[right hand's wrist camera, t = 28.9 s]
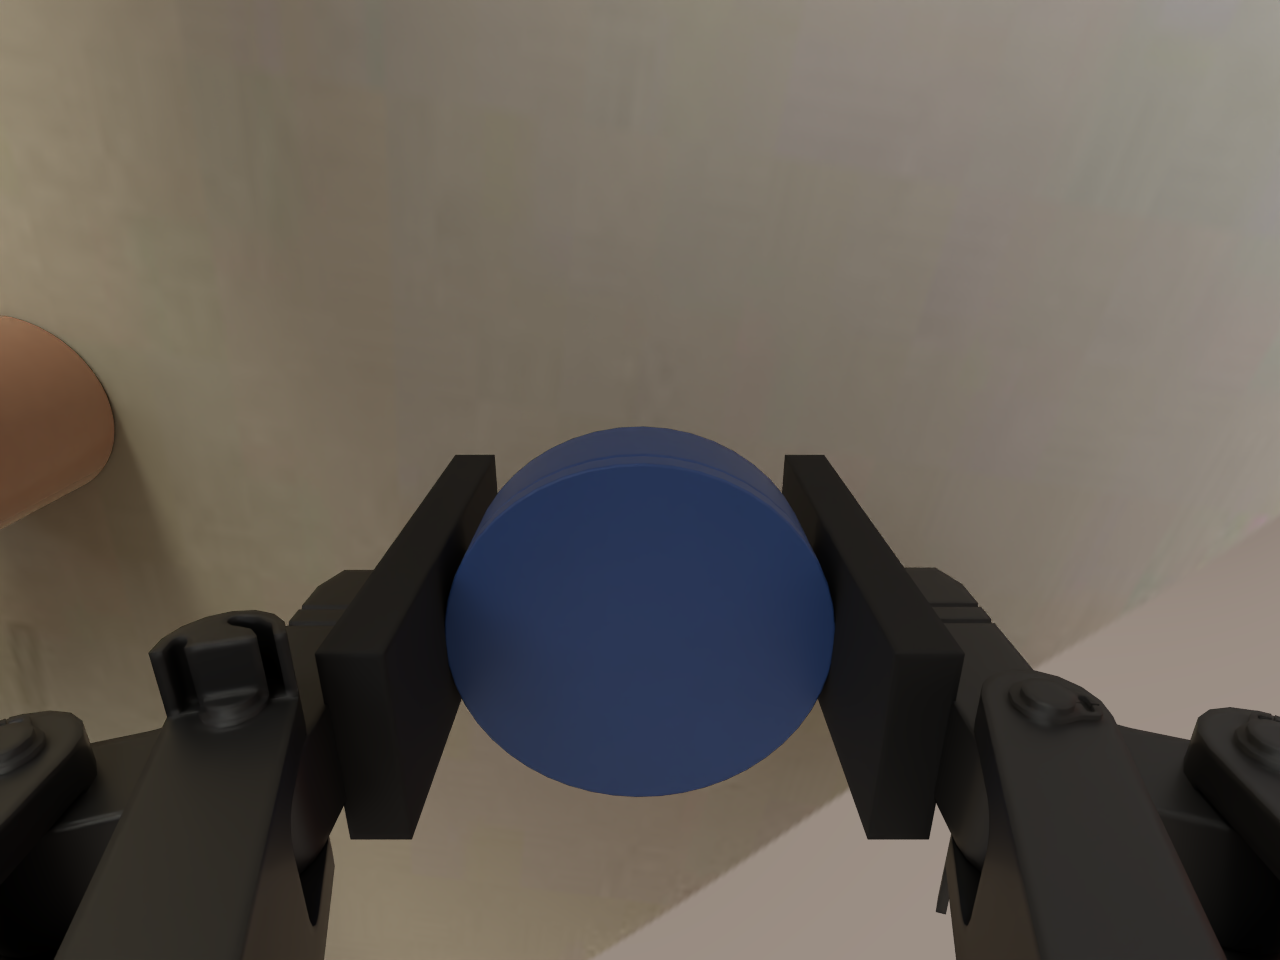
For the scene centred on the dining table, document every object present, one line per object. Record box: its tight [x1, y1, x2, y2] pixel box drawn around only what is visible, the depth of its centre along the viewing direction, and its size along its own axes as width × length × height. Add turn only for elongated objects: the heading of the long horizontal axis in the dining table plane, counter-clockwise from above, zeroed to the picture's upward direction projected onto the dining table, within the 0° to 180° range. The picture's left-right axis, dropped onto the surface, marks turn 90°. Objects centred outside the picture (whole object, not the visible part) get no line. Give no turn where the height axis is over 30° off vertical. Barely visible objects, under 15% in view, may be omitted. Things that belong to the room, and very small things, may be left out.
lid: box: [444, 427, 835, 797], centre depth 11 cm, size 6×6×2 cm
